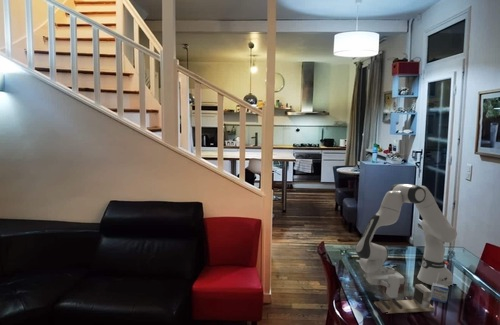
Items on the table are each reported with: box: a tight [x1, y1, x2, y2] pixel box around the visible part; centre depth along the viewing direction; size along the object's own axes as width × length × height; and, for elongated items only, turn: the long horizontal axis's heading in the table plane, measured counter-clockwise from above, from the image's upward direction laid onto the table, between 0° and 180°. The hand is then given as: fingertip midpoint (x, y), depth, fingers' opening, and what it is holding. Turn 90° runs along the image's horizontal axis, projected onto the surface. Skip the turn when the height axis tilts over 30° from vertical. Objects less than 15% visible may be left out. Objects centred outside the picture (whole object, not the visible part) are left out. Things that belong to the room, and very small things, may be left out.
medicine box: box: [430, 283, 450, 304], centre depth 203 cm, size 8×4×9 cm, turn 69°
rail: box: [373, 283, 435, 314], centre depth 191 cm, size 30×8×11 cm, turn 103°
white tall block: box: [385, 276, 400, 299], centre depth 188 cm, size 4×4×10 cm
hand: (393, 286), depth 188 cm, fingers closed on white tall block, 4 cm apart
